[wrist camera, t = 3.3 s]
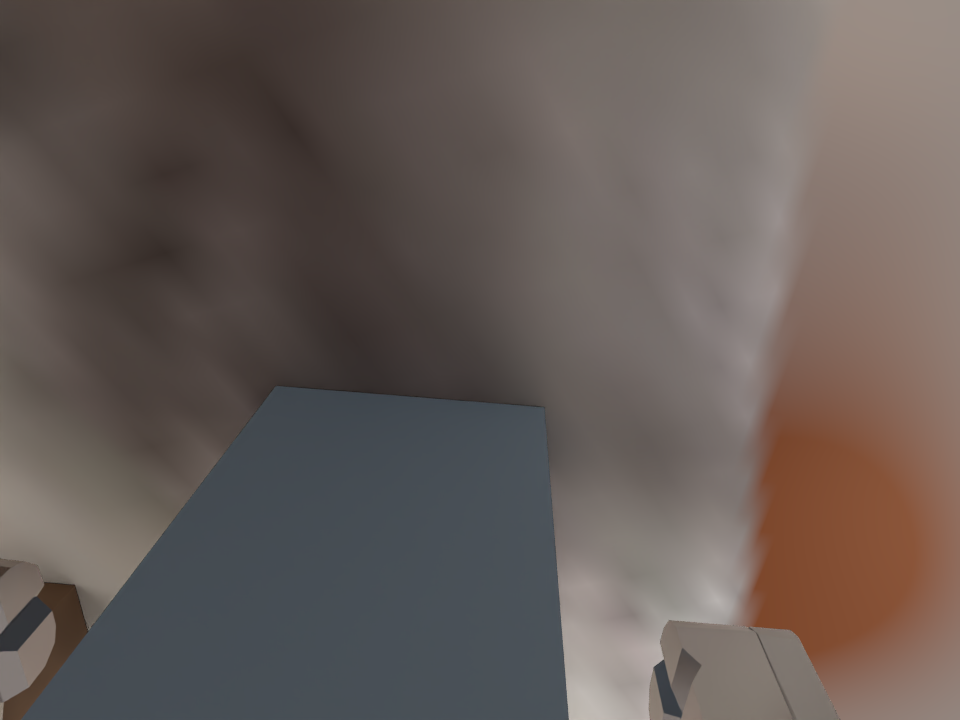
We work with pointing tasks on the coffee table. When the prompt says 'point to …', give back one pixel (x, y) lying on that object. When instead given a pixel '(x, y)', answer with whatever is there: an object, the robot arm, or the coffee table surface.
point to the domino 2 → (343, 575)
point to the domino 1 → (66, 640)
